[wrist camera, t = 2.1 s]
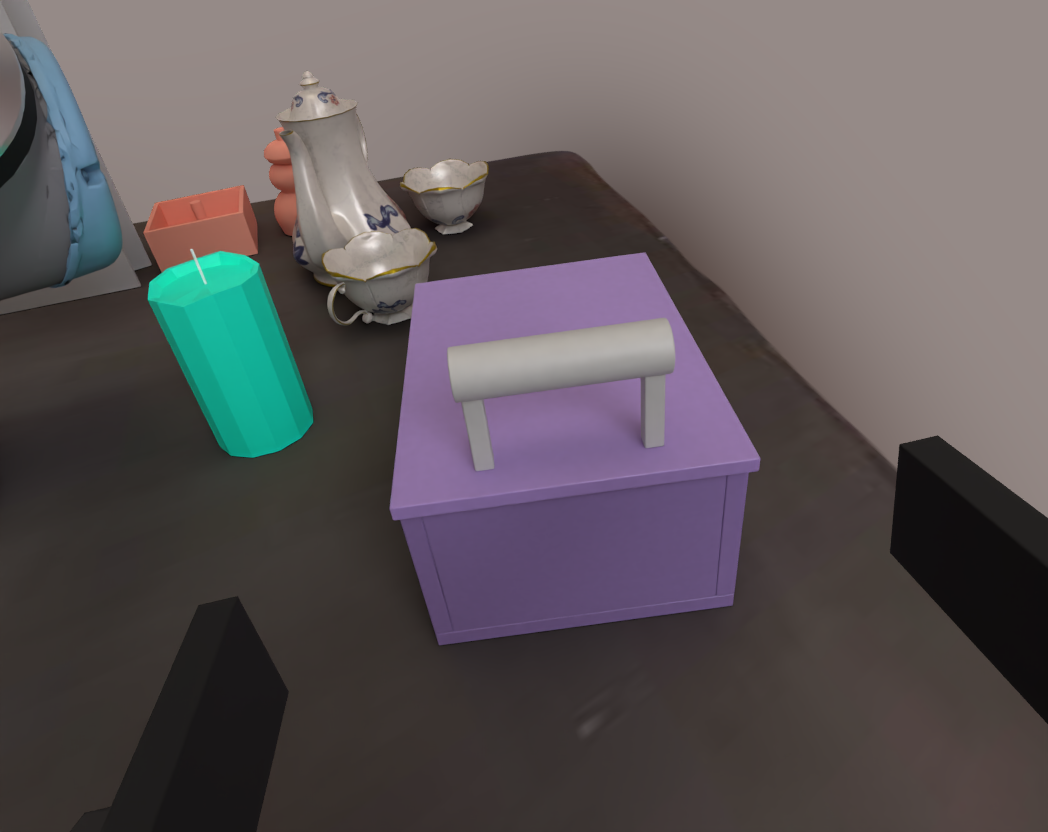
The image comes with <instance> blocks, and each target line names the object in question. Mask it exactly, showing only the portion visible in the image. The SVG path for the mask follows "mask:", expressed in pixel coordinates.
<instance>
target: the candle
mask: <svg viewBox="0 0 1048 832" xmlns="http://www.w3.org/2000/svg"><path fill="white" fill-rule="evenodd" d="M190 251H191V254H192V256H193V258H194V259H193V260H190V261H187V262H184V263H182V264H179V265H176V266H173V267H170V268H167V269H166V270H165V271H163V272H162V273H161V274H160V275H158V276H157V277H156V278H154V279H153V280H152V281H151V282H150V283H149V292H148V302H149V304H150V306H151V308H152V310H153V312H154V314H155V316H156V318H157V320H158V322H159V324H160V326H161V328H162V330H163V332H164V334H165V336H166V338H167V340H168V342H169V344H170V346H171V348H172V350H173V353H174V355H175V357H176V359H177V361H178V363H179V365H180V367H181V369H182V371H183V373H184V375H185V377H186V379H187V381H188V383H189V385H190V387H191V389H192V391H193V393H194V395H195V397H196V399H197V401H198V403H199V405H200V407H201V410H202V412H203V414H204V416H205V418H206V420H207V422H208V424H209V426H210V428H211V430H212V432H213V434H214V436H215V438H216V440H217V442H218V444H219V446H220V447H221V448H222V449H224V450H225V451H226V452H227V453H228V454H229V455H230V456H239V457H250V458H254V457H258V456H262V455H266V454H270V453H274V452H277V451H280V450H282V449H283V448H285V447H287V446H289V445H290V444H292V443H294V442H295V441H297V440H299V439H300V438H302V436H303V435H304V434H305V433H306V431H307V430H308V429H309V427H310V426H311V425H312V424H313V409H312V406H311V403H310V401H309V398H308V395H307V393H306V390H305V387H304V384H303V382H302V379H301V376H300V374H299V371H298V368H297V365H296V363H295V360H294V357H293V355H292V352H291V349H290V346H289V344H288V341H287V338H286V336H285V333H284V330H283V327H282V325H281V322H280V319H279V317H278V314H277V311H276V308H275V306H274V303H273V300H272V298H271V295H270V292H269V289H268V287H267V284H266V281H265V279H264V276H263V273H262V270H261V268H260V265H259V263H257V262H255V261H254V260H252V259H251V258H249V257H247V256H246V255H241V254H236V253H230V252H224V251H218V252H215V253H212V254H209V255H206V256H203V257H199V258H196V256H195V253H194V251H193V249H190Z"/></svg>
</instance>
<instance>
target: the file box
mask: <svg viewBox="0 0 1048 832" xmlns="http://www.w3.org/2000/svg"><path fill="white" fill-rule="evenodd" d="M748 473H749V472H748ZM748 473H740V474H733V475H725V476H718V477H711V478H703V479H696V480H689V481H681V482H674V483H667V484H659V485H652V486H645V487H637V488H630V489H623V490H615V491H608V492H600V493H593V494H586V495H578V496H571V497H564V498H556V499H549V500H542V501H534V502H527V503H520V504H512V505H505V506H498V507H490V508H483V509H475V510H468V511H461V512H453V513H446V514H439V515H431V516H424V517H417V518H409V519H402V520H400V522H401V525H402V528H403V531H404V534H405V538H406V541H407V544H408V547H409V551H410V554H411V557H412V560H413V563H414V567H415V570H416V573H417V576H418V580H419V583H420V586H421V589H422V592H423V596H424V599H425V602H426V605H427V609H428V612H429V615H430V618H431V621H432V625H433V628H434V631H435V635H436V638H437V641H438V644H439V645H446V644H453V643H461V642H468V641H475V640H483V639H490V638H497V637H505V636H512V635H520V634H527V633H534V632H542V631H549V630H556V629H564V628H571V627H578V626H586V625H593V624H601V623H608V622H615V621H623V620H630V619H637V618H645V617H652V616H660V615H667V614H674V613H682V612H689V611H696V610H704V609H711V608H719V607H726V606H732V605H733V599H734V591H735V583H736V574H737V566H738V557H739V549H740V541H741V532H742V524H743V515H744V507H745V499H746V490H747V482H748Z"/></svg>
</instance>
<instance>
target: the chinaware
mask: <svg viewBox="0 0 1048 832" xmlns="http://www.w3.org/2000/svg"><path fill="white" fill-rule="evenodd" d="M302 77H303V79H302V81H301V82H300V85H301V86H302V87H303V88H304V90H302V91H299V92H298V93H296V95H295V96H294V98H293V101H292V106H291V109H287V110H285V111H284V112H281V113H279V114H278V115H277V116H276V119H277V120H279V121H280V123H281V125H282V127H283V128H284V130H285V131H282V132H280V133H279V135H280V137H281V138H282V140H283V141H284V142H285V144H286V145H287V148H288V150H289V153H290V157H291V162H292V169H293V176H294V184H295V192H296V208H297V218H296V221H295V225H294V229H293V235H292V239H293V244H294V245H293V256H294V259H295V260H296V261H297V263H298V264H300V265H301V266H302V267H304V268H306V269H307V270H309V271H311V272H313V273H314V279H315V280H316V281H317V282H318V283H320V284H322V285H324V286H329V287H334V288H333V289H332V290H331V291H330V293H329V295H328V301H327V306H328V311H329V314H330V316H331V318H332V319H333V320H334V321H335V322H336V323H338V324H340V325H350V324H352V323H353V322H354V321H355V319H356V318H357V317H358V316H359V315H360V314H364V315H363V317H362V320H363V322H365V323H370V322H371V321H376V322H378V323H382V324H387V325H390V324H393V323H397V322H401V321H403V320H406V319H410V318H411V316H412V307H413V298H414V289H415V284H418V283H425V282H427V280H428V276H429V263H430V257H431V256H432V255H434V254H435V253H436V251H437V246H436V244H435V242H430V240H429V238H428V236H427V234H426V233H425V232H424V231H422V230H420V229H418V228H413V229H411V227H410V226H409V224H408V222H407V220H406V217H405V214H404V213H403V211H402V210H401V209H400V207H399V206H398V205H397V204H396V203H395V202H394V201H393V200H392V199H391V198H390V197H389V196H388V195H387V194H386V193H385V192H384V191H383V189H382V188H381V187H380V186H379V184H378V183H377V181H376V179H375V178H374V176H373V174H372V173H371V171H370V169H369V167H368V164H367V159H368V157H367V145H366V139H365V135H364V131H363V128H362V125H361V122H360V120H359V117H358V115H357V114H356V106H357V104H358V102H355V101H354V100H346V99H340V100H339V99H338V97H337V96H336V95H335V94H334V93H333V92H332V91H331V90H330V89H328V88H325V87H318V83H319V80H318V79H316V78H315V77H313V74H312V73H310V72H309V71H305V72H304V73H303V76H302ZM488 169H489V167H488V164H487V163H486V162H485V161H477V162H475V163H472V164H470V166H469V164H468V163H465V162H464V161H462V160H458V159H447V160H444V161H440V162H438V163H437V164H435V165H434V166H433V167H431V168H430V170H429V169H428V168H414V169H409V170H408V171H407V172H406V173H405V174H404V179H403V182H400V187H401V189H402V190H403V191H407V192H408V193H409V195H410V196H411V198H412V200H413V202H414V204H415V206H416V208H417V209H418V211H419V212H420V213H421V214H422V215H423V216H424V217H426V218H427V219H428V220H430V221H432V222H434V223H437V224H440V225H439V226H437V227H435V229H436V230H437V231H438V232H440V233H442V234H453V233H461V232H463V231H465V230H467V229H468V228H469V227H471V226H473V224H472V223H469V222H467V221H466V220H467V219H469V218H470V217H471V216H472V215H473V214H474V213H475V212H476V211H477V209H478V208H479V206H480V204H481V201H482V198H483V193H484V184H485V179H486V177H487V175H488ZM337 290H338V291H339V292H340V293H341V294H343V293H344V294H345V295H346V297H347V298H348V299H349V300H350V301H352V302H353V303H354V304H355V305H357V306H358V307H360V308H362V309H364V310H361V311H358V312H357V313H355V314H354V315H353V317H352V318H351V319H349V320H348V321H345V322H343V321H340V320H339V319H338V318H337V317H336V316H335V313H334V309H333V303H334V297H335V294H336V292H337ZM368 311H369V312H368ZM370 312H373V313H374V315H373V316H372V313H370Z"/></svg>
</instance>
